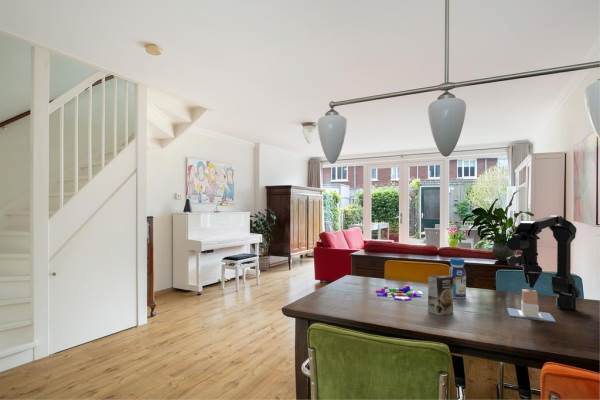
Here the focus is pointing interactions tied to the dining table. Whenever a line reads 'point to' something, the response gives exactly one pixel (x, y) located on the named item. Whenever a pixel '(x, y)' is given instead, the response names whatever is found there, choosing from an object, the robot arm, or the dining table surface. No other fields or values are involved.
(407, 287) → the building block set
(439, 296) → the coffee box
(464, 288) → the beverage bottle
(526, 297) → the terracotta block
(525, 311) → the cream block
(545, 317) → the board
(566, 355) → the dining table surface
